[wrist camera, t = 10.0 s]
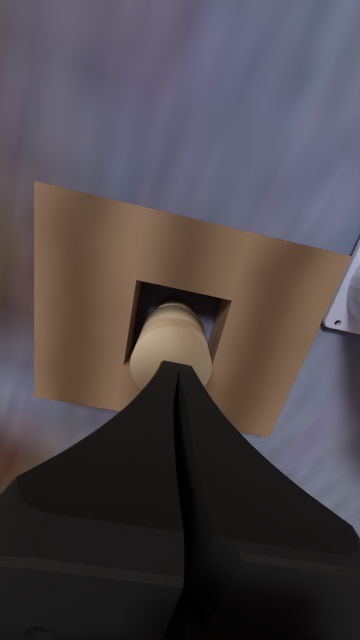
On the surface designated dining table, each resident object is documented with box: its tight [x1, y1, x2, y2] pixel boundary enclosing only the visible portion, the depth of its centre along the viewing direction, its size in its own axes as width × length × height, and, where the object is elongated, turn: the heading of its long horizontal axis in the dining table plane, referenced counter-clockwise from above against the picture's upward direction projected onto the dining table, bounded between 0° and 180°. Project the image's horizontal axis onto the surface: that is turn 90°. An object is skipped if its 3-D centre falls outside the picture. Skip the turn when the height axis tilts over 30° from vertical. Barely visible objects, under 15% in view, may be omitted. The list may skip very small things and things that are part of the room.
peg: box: [130, 299, 212, 390], centre depth 14 cm, size 4×4×7 cm
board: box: [34, 181, 352, 437], centre depth 16 cm, size 18×14×3 cm
